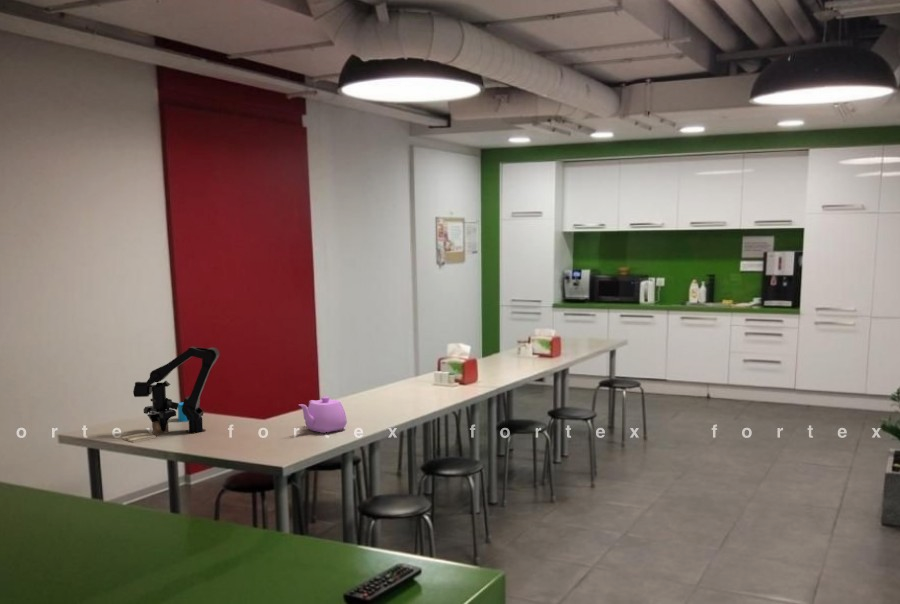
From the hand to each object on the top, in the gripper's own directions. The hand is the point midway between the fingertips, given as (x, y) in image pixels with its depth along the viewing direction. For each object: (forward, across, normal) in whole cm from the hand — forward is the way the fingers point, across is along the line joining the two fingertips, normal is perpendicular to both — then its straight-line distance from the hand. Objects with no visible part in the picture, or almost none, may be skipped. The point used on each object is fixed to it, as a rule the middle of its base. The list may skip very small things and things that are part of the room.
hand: (160, 430), depth 324 cm
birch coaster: (+1, -2, +11) cm, 11 cm away
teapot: (+1, -57, -48) cm, 74 cm away
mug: (+1, +15, -23) cm, 27 cm away
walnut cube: (+1, 0, 0) cm, 1 cm away
